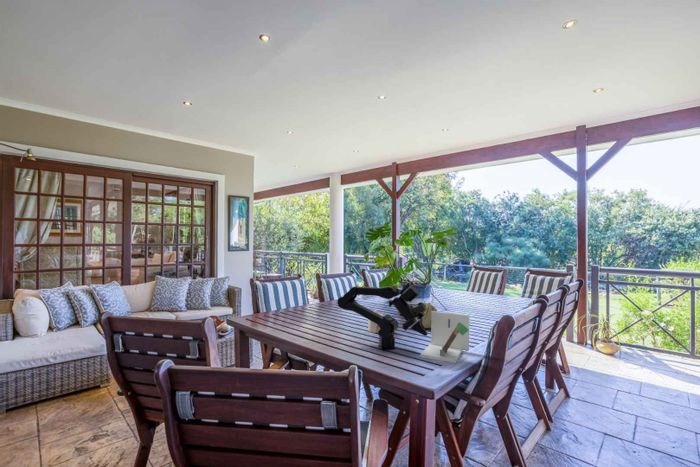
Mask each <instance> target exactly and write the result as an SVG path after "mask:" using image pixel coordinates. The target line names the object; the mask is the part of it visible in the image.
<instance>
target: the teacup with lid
mask: <svg viewBox="0 0 700 467" xmlns="http://www.w3.org/2000/svg"><path fill="white" fill-rule="evenodd" d="M373 312H375V313H377V314H379V315H381V316H385V315H384V314H383V313H380V312H379V311H378V309H375V310H374V311H373ZM367 324H368V325H367V331H368V332H369V333H371V334H378V331H379V330H380V329H381V328H380V327H379V326H378V325H377V324H376V323H374V322H372V321H370V320H369V319H367Z"/></svg>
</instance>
